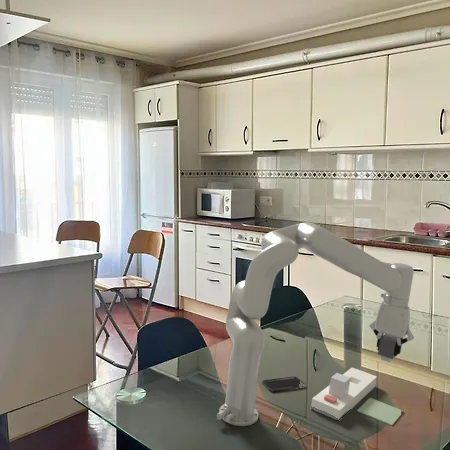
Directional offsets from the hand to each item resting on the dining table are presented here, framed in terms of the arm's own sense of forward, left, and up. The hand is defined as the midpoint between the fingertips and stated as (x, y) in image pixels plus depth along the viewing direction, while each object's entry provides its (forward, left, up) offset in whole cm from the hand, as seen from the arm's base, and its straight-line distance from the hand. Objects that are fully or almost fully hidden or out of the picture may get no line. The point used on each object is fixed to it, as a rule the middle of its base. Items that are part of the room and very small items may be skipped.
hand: (387, 351), depth 170 cm
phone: (-9, +32, -22) cm, 40 cm away
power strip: (0, +12, -21) cm, 25 cm away
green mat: (0, -1, -21) cm, 21 cm away
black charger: (0, 0, -3) cm, 3 cm away
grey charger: (-7, +12, -19) cm, 24 cm away
